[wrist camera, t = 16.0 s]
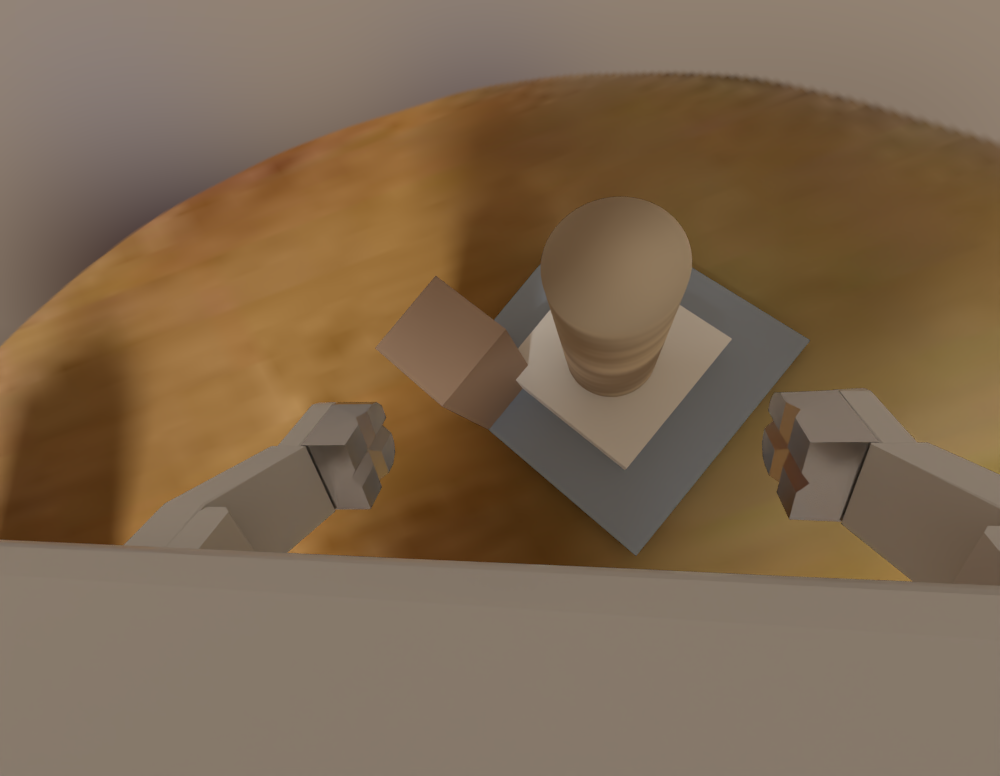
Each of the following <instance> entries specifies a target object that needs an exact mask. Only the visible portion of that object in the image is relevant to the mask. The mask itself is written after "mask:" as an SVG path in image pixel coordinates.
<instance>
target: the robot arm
mask: <svg viewBox="0 0 1000 776" xmlns="http://www.w3.org/2000/svg"><path fill="white" fill-rule="evenodd" d="M768 411H769V413H770V415H771V417H772V419H773V420H774V421H773V422H771V423H770V424H769V425H768V426H767V427H766V428H765V429H764V434H763V440H762V451H763V459H764V463H765V467H766V469H767V471H768V474H769V476H771V477H772V478H774V479H775V480H777V481H778V482H779V485H778V489H777V494H778V496H779V498H780V500H781V503H782V505H783V507H784V509H785V511H786V513H787V516H788V518H789V519H796V520H817V521H837V522H842V523H841V524H842V525H843V526H845V527H846V528H847V529H848V530H850V531H851V532H852V533H853V534H855V535H856V536H857V537H858V538H860V539H861V540H862V541H863V542H865V543H866V544H867V545H868V546H870V547H871V548H872V549H873V550H875V551H876V552H877V553H878V554H880V555H881V556H882V557H883V558H885V559H886V560H887V561H888V562H890V563H891V564H892V565H893V566H895V567H896V568H897V569H898V570H899V571H901V572H902V573H903V574H904V575H906V576H907V577H908V578H909V579H911V580H912V581H913V582H909V581H887V580H864V579H841V578H817V577H794V576H772V575H752V574H731V573H710V572H689V571H668V570H647V569H627V568H606V567H584V566H562V565H540V564H517V563H495V562H473V561H451V560H429V559H407V558H385V557H364V556H342V555H320V554H298V553H287V552H288V551H290V550H291V549H292V548H293V547H294V546H295V545H297V544H298V543H299V542H300V541H301V540H302V539H304V538H305V537H306V536H307V535H308V534H309V533H311V532H312V531H313V530H314V529H315V528H316V527H317V526H319V525H320V524H321V523H322V522H323V521H324V520H326V519H327V518H328V517H329V516H330V515H331V514H333V513H334V512H335V509H371V507H372V505H373V503H374V502H375V500H376V498H377V496H378V494H379V492H380V490H381V488H382V486H381V483H380V481H379V479H381V478H382V477H384V476H385V475H386V474H388V473H389V471H390V469H391V467H392V465H393V462H394V455H395V446H394V440H393V437H392V434H391V432H390V431H388V430H387V429H386V428H385V427H384V426H383V423H384V421H385V419H386V416H385V413H384V410H383V408H382V405H380V404H379V403H377V402H337V403H335V402H327V403H316V404H313V405H312V406H311V407H310V408H309V409H308V411H307V412H306V413H305V414H304V415H303V417H302V418H301V419H300V420H299V421H298V422H297V424H296V425H295V426H294V427H293V428H292V430H291V431H290V432H289V433H288V434H287V436H286V437H285V438H284V439H283V440H282V441H281V443H280V444H279V445H278V446H271V447H269V448H267V449H265V450H264V451H262V452H260V453H258V454H256V455H254V456H252V457H251V458H249V459H247V460H245V461H243V462H241V463H239V464H237V465H236V466H234V467H232V468H230V469H228V470H226V471H224V472H223V473H221V474H219V475H217V476H215V477H213V478H211V479H210V480H208V481H206V482H204V483H202V484H200V485H198V486H197V487H195V488H193V489H191V490H189V491H187V492H185V493H184V494H182V495H180V496H178V497H176V498H174V499H172V500H170V501H169V502H167V503H165V504H164V505H163V506H162V507H161V508H160V509H159V510H158V511H157V512H156V513H155V514H154V515H153V516H152V517H151V518H150V519H149V520H148V521H147V522H146V523H145V524H144V525H143V526H142V527H141V528H140V529H139V530H138V531H137V532H136V533H135V534H134V535H133V536H132V537H131V538H130V539H129V540H128V541H127V542H126V543H125V544H124V545H105V544H84V543H63V542H42V541H20V540H0V776H1000V475H999V474H997V473H995V472H993V471H990V470H988V469H986V468H984V467H981V466H979V465H977V464H975V463H972V462H970V461H968V460H966V459H963V458H961V457H959V456H957V455H955V454H952V453H950V452H948V451H946V450H943V449H941V448H939V447H937V446H934V445H932V444H930V443H917V442H916V440H915V439H914V438H913V437H912V436H911V435H910V434H909V433H908V432H907V430H906V429H905V428H904V427H903V426H902V425H901V424H900V423H899V422H898V420H897V419H896V418H895V417H894V416H893V415H892V414H891V413H890V412H889V410H888V409H887V408H886V407H885V406H884V405H883V404H882V403H881V402H880V400H879V399H878V398H877V397H876V396H875V395H874V394H873V393H872V392H871V391H870V390H868V389H865V388H855V389H837V390H825V391H801V392H776V393H774V394H773V396H772V398H771V400H770V404H769V409H768Z"/></svg>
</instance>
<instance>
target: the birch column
mask: <svg viewBox="0 0 1000 776" xmlns="http://www.w3.org/2000/svg"><path fill="white" fill-rule="evenodd" d="M540 267H541V280H542V285H543V288H544V291H545V294H546V297H547V301H548V304H549V307H550V310H551V313H552V317H553V320H554V323H555V326H556V329H557V332H558V336H559V339H560V342H561V345H562V348H563V352H564V355H565V358H566V361H567V364H568V367H569V370H570V372H571V374H572V376H573V378H574V379H575V380H576V382H577V383H578V384H579V385H580V386H582V387H583V388H584V389H586V390H587V391H589V392H591V393H593V394H596V395H599V396H604V397H618V396H623V395H626V394H629V393H631V392H633V391H635V390H637V389H638V388H639V387H641V386H642V385H643V384H644V383H645V382H646V381H647V380H648V378H649V377H650V376H651V374H652V372H653V370H654V367H655V365H656V362H657V360H658V357H659V355H660V352H661V350H662V347H663V345H664V342H665V340H666V337H667V335H668V332H669V330H670V327H671V325H672V323H673V320H674V318H675V315H676V313H677V310H678V308H679V305H680V303H681V300H682V298H683V295H684V293H685V290H686V288H687V285H688V282H689V279H690V275H691V270H692V252H691V247H690V243H689V240H688V238H687V236H686V233H685V232H684V230H683V228H682V227H681V225H680V224H679V223H678V222H677V220H676V219H675V218H674V217H673V216H672V215H671V214H669V213H668V212H667V211H666V210H664V209H663V208H661V207H659V206H657V205H655V204H653V203H651V202H648V201H646V200H643V199H638V198H634V197H609V198H603V199H599V200H595V201H592V202H590V203H587V204H585V205H583V206H581V207H579V208H577V209H576V210H574V211H573V212H571V213H570V214H569V215H567V216H566V217H565V218H564V219H563V220H562V221H561V222H560V223H559V224H558V225H557V226H556V228H555V229H554V230H553V232H552V233H551V235H550V236H549V238H548V240H547V242H546V245H545V247H544V250H543V254H542V258H541V266H540Z"/></svg>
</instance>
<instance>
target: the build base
mask: <svg viewBox="0 0 1000 776" xmlns="http://www.w3.org/2000/svg"><path fill="white" fill-rule="evenodd" d="M540 266H541V264H540V265H539V266H538V267H537V269H536V270H535V271H534V272H533V273H532V275H531V276H530V277H529V278H528V279H527V281H526V282H525V283H524V284H523V285H522V287H521V288H520V289H519V290H518V291H517V293H516V294H515V295H514V296H513V297H512V299H511V300H510V301H509V302H508V304H507V305H506V306H505V307H504V308H503V310H502V311H501V312H500V313H499V314H498V316H497V317H496V318H495V319H494V320H493V319H492V318H491V317H489V316H488V315H487V314H485V313H484V312H483V311H481V310H480V309H479V308H477V307H476V306H475V305H473V304H472V303H471V302H470V301H468V300H467V299H466V298H464V297H463V296H462V295H460V294H459V293H458V292H456V291H455V290H454V289H452V288H451V287H450V286H449V285H447V284H446V283H445V282H443V281H442V280H441V279H439V278H438V277H437V276H435V277H434V278H433V280H432V281H431V282H430V283H429V284H428V286H427V287H426V288H425V289H424V290H423V292H422V293H421V294H420V295H419V296H418V297H417V299H416V300H415V301H414V302H413V303H412V305H411V306H410V307H409V308H408V309H407V311H406V312H405V313H404V314H403V315H402V317H401V318H400V319H399V320H398V321H397V323H396V324H395V325H394V326H393V327H392V329H391V330H390V331H389V332H388V333H387V335H386V336H385V337H384V338H383V339H382V341H381V342H380V343H379V344H378V345H377V347H376V349H377V350H378V351H379V352H380V353H381V354H382V355H384V356H385V357H386V358H387V359H388V360H389V361H391V362H392V363H393V364H394V365H395V366H396V367H397V368H399V369H400V370H401V371H402V372H403V373H404V374H405V375H407V376H408V377H409V378H410V379H411V380H412V381H414V382H415V383H416V384H417V385H418V386H419V387H420V388H422V389H423V390H424V391H425V392H426V393H427V394H428V395H430V396H431V397H432V398H433V399H434V400H435V401H436V402H438V403H439V404H440V405H441V406H442V407H444V408H446V409H448V410H450V411H452V412H454V413H456V414H458V415H460V416H462V417H464V418H466V419H468V420H470V421H472V422H474V423H476V424H478V425H480V426H482V427H484V428H486V429H488V430H490V431H491V432H492V433H493V434H494V435H495V436H497V437H498V438H499V439H500V440H501V441H502V442H504V443H505V444H506V445H507V446H508V447H509V448H511V449H512V450H513V451H514V452H515V453H516V454H518V455H519V456H520V457H521V458H522V459H523V460H525V461H526V462H527V463H528V464H529V465H530V466H532V467H533V468H534V469H535V470H536V471H537V472H539V473H540V474H541V475H542V476H543V477H544V478H546V479H547V480H548V481H549V482H550V483H551V484H553V485H554V486H555V487H556V488H557V489H558V490H560V491H561V492H562V493H563V494H564V495H565V496H567V497H568V498H569V499H570V500H571V501H572V502H574V503H575V504H576V505H577V506H578V507H579V508H581V509H582V510H583V511H584V512H585V513H586V514H588V515H589V516H590V517H591V518H592V519H593V520H595V521H596V522H597V523H598V524H599V525H600V526H602V527H603V528H604V529H605V530H606V531H607V532H609V533H610V534H611V535H612V536H613V537H614V538H616V539H617V540H618V541H619V542H620V543H621V544H623V545H624V546H625V547H626V548H627V549H628V550H630V551H631V552H632V553H633V554H634V555H635V556H636V555H637V554H638V553H639V552H640V551H641V549H642V548H643V547H644V546H645V544H646V543H647V542H648V541H649V539H650V538H651V537H652V536H653V534H654V533H655V532H656V531H657V529H658V528H659V527H660V526H661V525H662V523H663V522H664V521H665V520H666V518H667V517H668V516H669V515H670V513H671V512H672V511H673V510H674V508H675V507H676V506H677V505H678V504H679V502H680V501H681V500H682V499H683V497H684V496H685V495H686V494H687V492H688V491H689V490H690V489H691V487H692V486H693V485H694V484H695V482H696V481H697V480H698V479H699V478H700V476H701V475H702V474H703V473H704V471H705V470H706V469H707V468H708V466H709V465H710V464H711V463H712V461H713V460H714V459H715V458H716V457H717V455H718V454H719V453H720V452H721V450H722V449H723V448H724V447H725V445H726V444H727V443H728V442H729V440H730V439H731V438H732V437H733V435H734V434H735V433H736V432H737V431H738V429H739V428H740V427H741V426H742V424H743V423H744V422H745V421H746V419H747V418H748V417H749V416H750V414H751V413H752V412H753V411H754V409H755V408H756V407H757V406H758V405H759V403H760V402H761V401H762V400H763V398H764V397H765V396H766V395H767V393H768V392H769V391H770V390H771V388H772V387H773V386H774V385H775V384H776V382H777V381H778V380H779V379H780V377H781V376H782V375H783V374H784V372H785V371H786V370H787V369H788V367H789V366H790V365H791V364H792V362H793V361H794V360H795V359H796V358H797V356H798V355H799V354H800V353H801V351H802V350H803V349H804V348H805V346H806V345H807V344H808V343H809V341H810V340H809V339H807V338H806V337H804V336H802V335H801V334H799V333H798V332H796V331H794V330H793V329H791V328H789V327H788V326H786V325H785V324H783V323H781V322H780V321H778V320H776V319H775V318H773V317H772V316H770V315H768V314H767V313H765V312H763V311H762V310H760V309H759V308H757V307H755V306H754V305H752V304H750V303H749V302H747V301H746V300H744V299H742V298H741V297H739V296H737V295H736V294H734V293H733V292H731V291H729V290H728V289H726V288H724V287H723V286H721V285H720V284H718V283H716V282H715V281H713V280H712V279H710V278H708V277H707V276H705V275H703V274H702V273H700V272H699V271H697V270H695V269H694V268H692V270H691V275H690V279H689V282H688V285H687V288H686V290H685V293H684V295H683V298H682V300H681V303H680V305H679V308H678V310H677V313H676V315H675V318H674V320H673V323H672V325H671V327H670V330H669V332H668V335H667V337H666V340H665V342H664V345H663V347H662V350H661V352H660V355H659V357H658V360H657V362H656V365H655V367H654V370H653V372H652V374H651V376H650V377H649V378H648V380H647V381H646V382H645V383H644V384H643V385H642V386H641V387H639V388H638V389H637V390H635V391H633V392H631V393H629V394H626V395H623V396H618V397H604V396H599V395H596V394H593V393H591V392H589V391H587V390H586V389H584V388H583V387H582V386H580V385H579V384H578V383H577V382H576V380H575V379H574V378H573V376H572V374H571V372H570V370H569V367H568V364H567V361H566V358H565V355H564V352H563V348H562V345H561V342H560V339H559V336H558V332H557V329H556V326H555V323H554V320H553V317H552V313H551V310H550V307H549V304H548V301H547V297H546V294H545V291H544V288H543V285H542V280H541V267H540Z"/></svg>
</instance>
